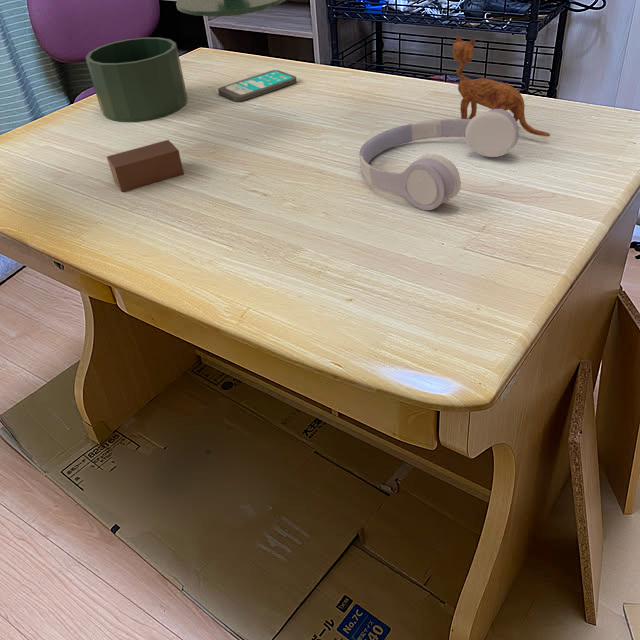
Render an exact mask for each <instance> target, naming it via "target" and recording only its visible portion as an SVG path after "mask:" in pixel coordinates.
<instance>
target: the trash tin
mask: <svg viewBox="0 0 640 640" xmlns="http://www.w3.org/2000/svg"><path fill="white" fill-rule="evenodd" d="M85 61H86V64H87V68H88V71H89V75H90V78H91V82H92V85H93V88H94V90H95V94H96V98H97V101H98V102H97V103H98V105H99V108H100V111H101V112H102V115H103V116H104V117H105V118H106V119H108V120H110V121H115V122H121V123H133V122H134V123H135V122H137V123H138V122H146V121H150V120H151V121H152V120H156V119H160V118H163V117H166V116H169V115H172V114H173V113H176V112H178V111H179V110H181V109H182V108H184V107H185V106H186V104H187V102H188V94H187V88H186V83H185V78H184V75H183V74H184V73H183V70H182V65H181V59H180V55H179V50H178V45H177V42H175V41H173V40H172V39H170V38H164V37H136V38H128V39H124V40H119V41H113V42H110V43H106V44H104V45H103V44H102V45H101V46H97V47H96V48H94V49H92V50H90V51H89V52H88V53H87V54H86V56H85Z"/></svg>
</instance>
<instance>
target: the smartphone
mask: <svg viewBox="0 0 640 640" xmlns="http://www.w3.org/2000/svg"><path fill="white" fill-rule="evenodd" d="M297 82H298V80H297V76H295V75H292V74H290V73H287V72H285V71H282V70H278V69H272V70H269V71H265V72H262V73H260V74H257V75H254V76H251V77H248V78H245V79H242V80H241V79H240V80H238V81H236V82H235V81H234V82H231V83H229V84H226V85H223V86H221V87H218V88H217V92H218V95H220V96H222V97H224V98H227V99H229V100H232V101H234V102H244V101H247V100H250V99H253V98H256V97H258V96H261V95H264V94H267V93H270V92H273V91H277V90H279V89H281V88H284V87H288V86H291V85H293V84H295V83H297Z"/></svg>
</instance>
